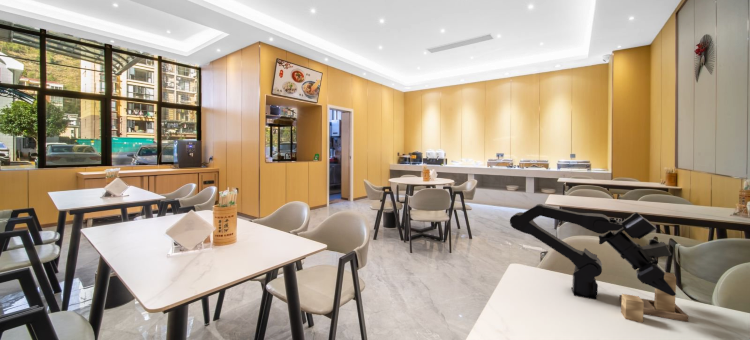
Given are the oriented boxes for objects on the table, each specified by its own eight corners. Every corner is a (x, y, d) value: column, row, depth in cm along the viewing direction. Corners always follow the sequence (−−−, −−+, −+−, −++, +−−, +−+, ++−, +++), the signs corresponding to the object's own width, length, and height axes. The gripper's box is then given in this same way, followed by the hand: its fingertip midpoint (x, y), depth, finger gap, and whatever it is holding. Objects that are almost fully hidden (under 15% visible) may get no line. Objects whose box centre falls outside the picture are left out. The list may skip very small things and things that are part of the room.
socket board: (627, 310, 92) (627, 305, 92) (619, 299, 99) (619, 294, 99) (688, 321, 86) (688, 316, 86) (675, 308, 93) (675, 303, 93)
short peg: (625, 319, 88) (626, 299, 87) (621, 312, 91) (621, 293, 91) (642, 322, 86) (643, 302, 86) (637, 315, 90) (638, 296, 89)
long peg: (656, 312, 91) (657, 274, 91) (654, 307, 94) (655, 270, 94) (674, 317, 89) (676, 277, 88) (671, 311, 92) (673, 273, 91)
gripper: (654, 239, 85) (709, 287, 79) (646, 226, 100) (691, 266, 94) (618, 260, 90) (666, 306, 84) (615, 245, 105) (656, 283, 99)
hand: (671, 289), depth 90 cm, fingers open, 9 cm apart
